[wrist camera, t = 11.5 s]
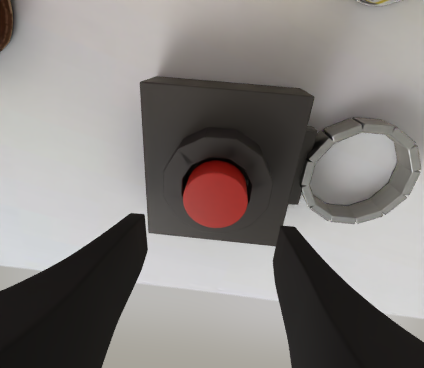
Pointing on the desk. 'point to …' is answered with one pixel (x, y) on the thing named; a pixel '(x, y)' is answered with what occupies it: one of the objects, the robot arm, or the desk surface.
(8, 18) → the coffee cup
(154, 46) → the desk surface
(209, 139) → the power button base
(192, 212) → the power button
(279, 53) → the desk surface
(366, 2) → the supplement bottle
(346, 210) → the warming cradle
